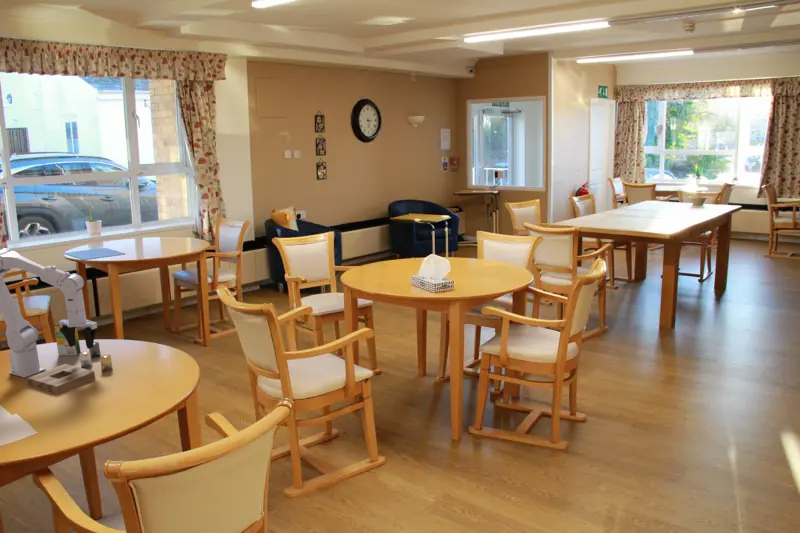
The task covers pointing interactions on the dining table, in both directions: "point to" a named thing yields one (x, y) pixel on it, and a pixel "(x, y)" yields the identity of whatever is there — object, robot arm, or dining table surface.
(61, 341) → the crayon box
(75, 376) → the socket board
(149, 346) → the dining table surface
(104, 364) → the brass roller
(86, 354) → the steel roller
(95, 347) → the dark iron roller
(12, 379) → the dining table surface
